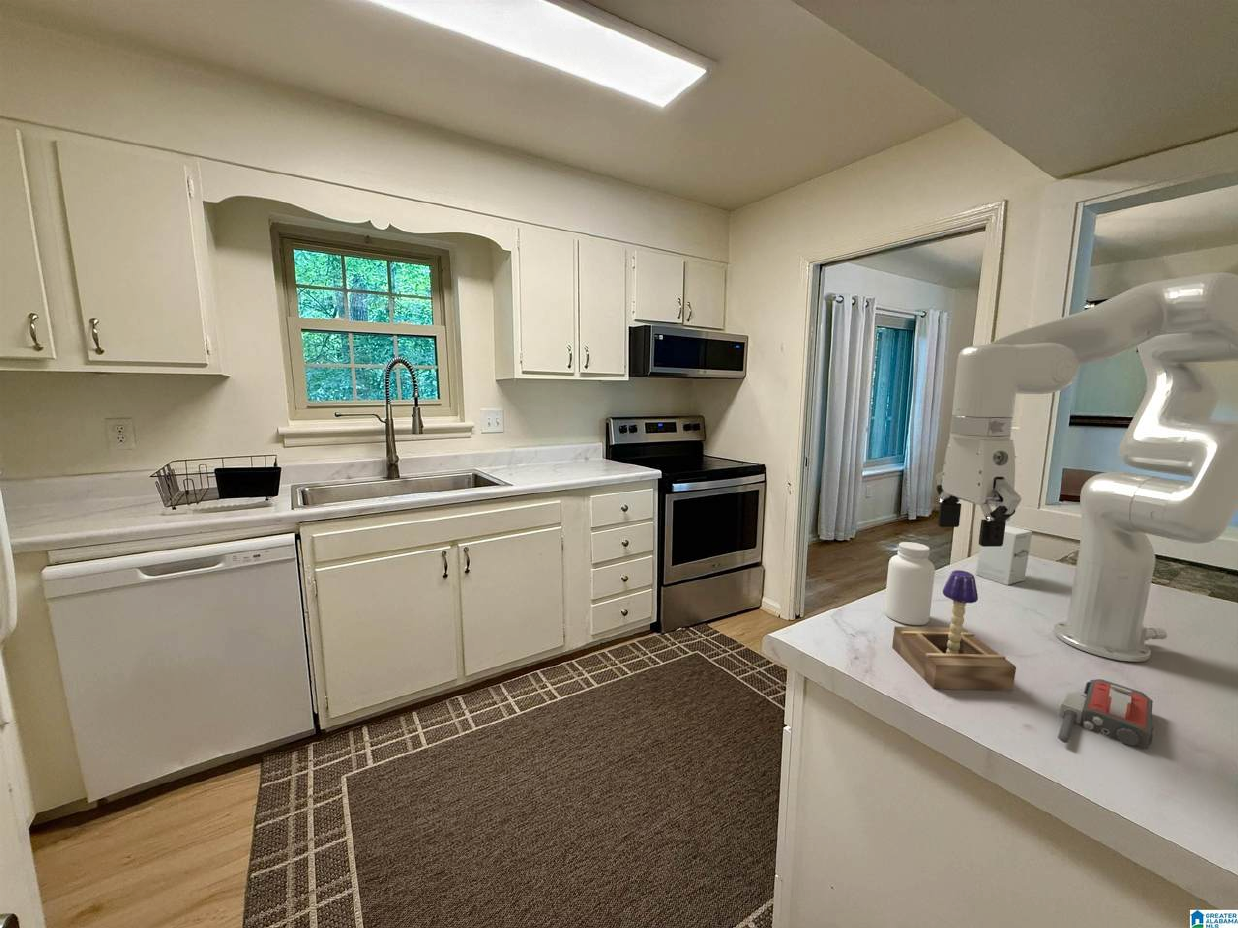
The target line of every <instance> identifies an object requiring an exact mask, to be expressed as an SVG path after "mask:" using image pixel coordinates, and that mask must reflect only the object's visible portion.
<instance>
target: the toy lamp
mask: <svg viewBox="0 0 1238 928" xmlns="http://www.w3.org/2000/svg"><path fill="white" fill-rule="evenodd" d="M942 594H943V596H944V597H946V598H948V599H949V600H952V604H953V605H952V608H951V611H952V612H951V613H952V614H951V616H950V620H951V621H950V622H951V623H950V624H949V628H950V632H949V635H948V638H949V640H948V643H947V646H948V649H947V650H946V654H959V652H958V650H959V649H960V641H961V638H962V636H961V633H962V631H963V628H964V627H963V626H964V625H963V624H964V622H965V617H964V616H965V614H966V608H965V607H966V606H967V604H973V603H976V602H977V601H978V599H979V597H978V596H979V595H978V590H977V585H976V579H975V576H974V574H973V573H971V572H969V571H964V570H959V569H955V570H952V571H951V573H950V574H949V576H948V579H947V581H946V582H945V584H944V587H943V589H942Z"/></svg>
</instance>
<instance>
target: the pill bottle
mask: <svg viewBox="0 0 1238 928" xmlns="http://www.w3.org/2000/svg"><path fill="white" fill-rule="evenodd" d="M930 551H931V549H930V547H929V546H928V545H925V544H921V543H918V542H911V541H910V542H909V541H902V542H900V543H898V549H897V552H896V553H897V554H895V555H893V556H892V557H890V558H889V561H888V567H887V568H888V569H887V576H886V577H887V578H886V587H885V588H886V589H885V596H884V608H883V611H884V614H885V615H886V617H888V618H890V619H891V620H893V621H896V622H898V623H901V624H904V625H905V624H906V625H910V626H922V625H927V624H928V623H929V621H930V616H931V608H932V599H933V592H934V583H935V573H936V567H935V565H934V563H932V562H931V560H929V557H930Z"/></svg>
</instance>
